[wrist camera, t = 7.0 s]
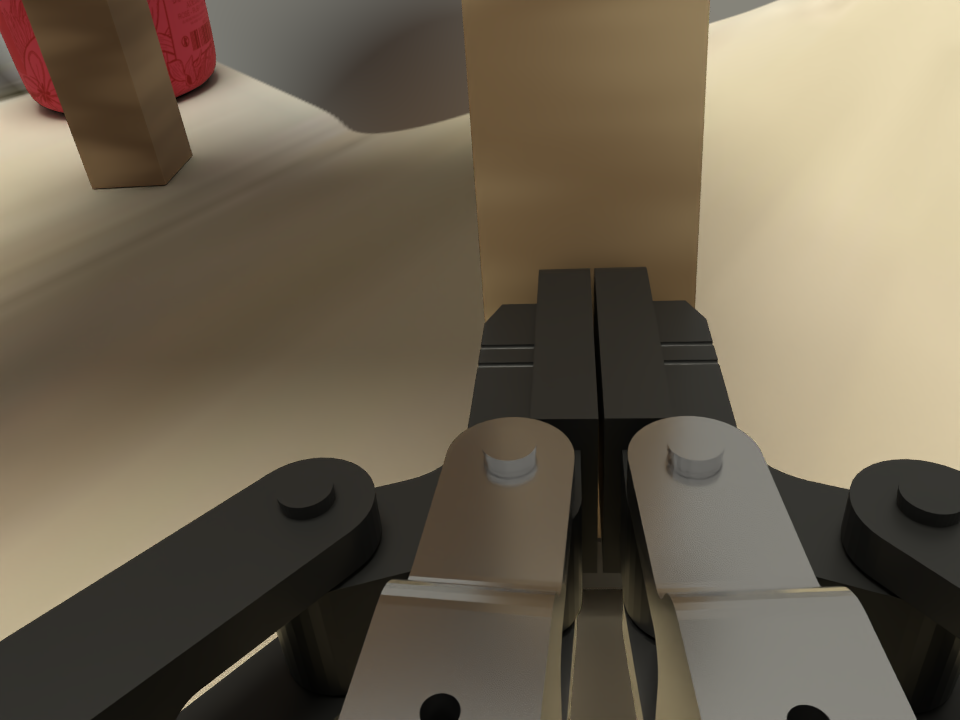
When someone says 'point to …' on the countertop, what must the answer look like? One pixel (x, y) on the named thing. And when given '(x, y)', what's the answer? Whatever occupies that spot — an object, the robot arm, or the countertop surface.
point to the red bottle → (178, 32)
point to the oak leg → (586, 145)
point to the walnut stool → (112, 88)
